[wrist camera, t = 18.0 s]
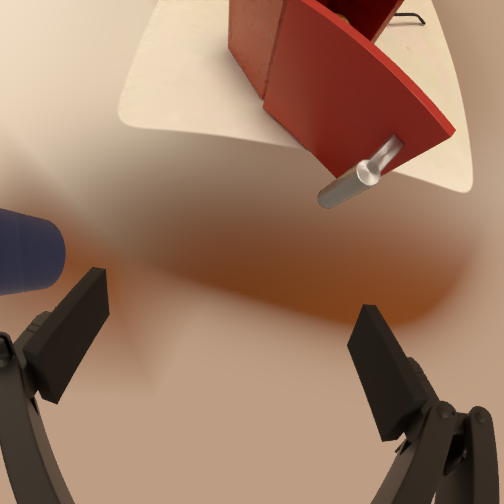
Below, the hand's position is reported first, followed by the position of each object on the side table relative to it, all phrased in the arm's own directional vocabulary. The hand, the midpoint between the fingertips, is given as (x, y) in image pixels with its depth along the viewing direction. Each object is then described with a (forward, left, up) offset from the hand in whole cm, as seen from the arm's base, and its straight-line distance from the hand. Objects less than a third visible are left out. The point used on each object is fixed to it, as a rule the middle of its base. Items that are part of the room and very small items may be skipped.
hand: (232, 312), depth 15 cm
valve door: (+7, +11, -12) cm, 18 cm away
